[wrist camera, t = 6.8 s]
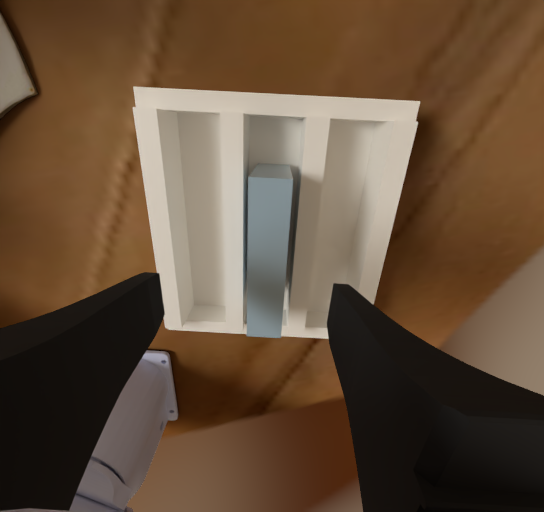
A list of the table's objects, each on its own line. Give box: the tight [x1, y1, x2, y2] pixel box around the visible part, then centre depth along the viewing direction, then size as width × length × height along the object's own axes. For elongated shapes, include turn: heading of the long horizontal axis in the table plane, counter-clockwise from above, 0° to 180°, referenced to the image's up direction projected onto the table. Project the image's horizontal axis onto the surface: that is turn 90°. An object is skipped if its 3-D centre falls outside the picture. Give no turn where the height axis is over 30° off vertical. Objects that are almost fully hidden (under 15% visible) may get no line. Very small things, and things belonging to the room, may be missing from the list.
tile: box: [247, 163, 293, 338], centre depth 17 cm, size 9×2×6 cm, turn 177°
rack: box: [133, 87, 420, 339], centre depth 18 cm, size 16×15×4 cm
